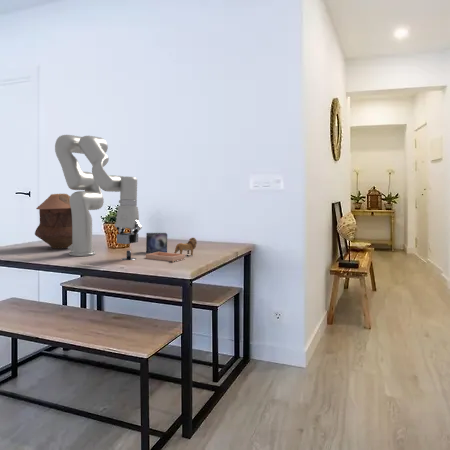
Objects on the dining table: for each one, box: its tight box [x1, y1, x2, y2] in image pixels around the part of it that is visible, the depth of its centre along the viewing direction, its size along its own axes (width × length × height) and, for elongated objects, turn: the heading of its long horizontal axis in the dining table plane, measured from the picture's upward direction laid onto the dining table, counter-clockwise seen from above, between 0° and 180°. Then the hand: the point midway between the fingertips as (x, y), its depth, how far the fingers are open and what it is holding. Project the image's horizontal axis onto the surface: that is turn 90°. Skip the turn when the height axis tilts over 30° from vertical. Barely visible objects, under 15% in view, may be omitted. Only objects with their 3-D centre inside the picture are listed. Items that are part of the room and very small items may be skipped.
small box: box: [145, 232, 168, 254], centre depth 213 cm, size 11×6×10 cm, turn 105°
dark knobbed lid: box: [121, 250, 137, 261], centre depth 190 cm, size 7×7×4 cm
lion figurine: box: [173, 237, 198, 256], centre depth 205 cm, size 15×5×9 cm, turn 138°
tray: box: [145, 251, 186, 263], centre depth 194 cm, size 15×10×2 cm
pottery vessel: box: [34, 193, 72, 249], centre depth 224 cm, size 26×26×30 cm
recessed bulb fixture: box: [116, 232, 139, 245], centre depth 189 cm, size 6×9×4 cm, turn 154°
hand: (127, 241), depth 190 cm, fingers closed on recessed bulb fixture, 5 cm apart
